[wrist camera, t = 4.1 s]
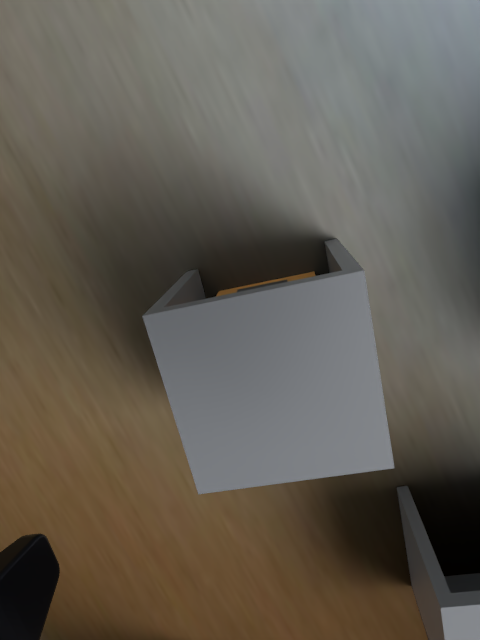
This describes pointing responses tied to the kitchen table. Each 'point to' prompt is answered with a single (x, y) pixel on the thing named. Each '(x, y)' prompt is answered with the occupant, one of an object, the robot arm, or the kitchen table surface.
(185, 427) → the grey bracket
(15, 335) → the kitchen table surface
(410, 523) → the open box
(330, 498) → the kitchen table surface
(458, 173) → the kitchen table surface
